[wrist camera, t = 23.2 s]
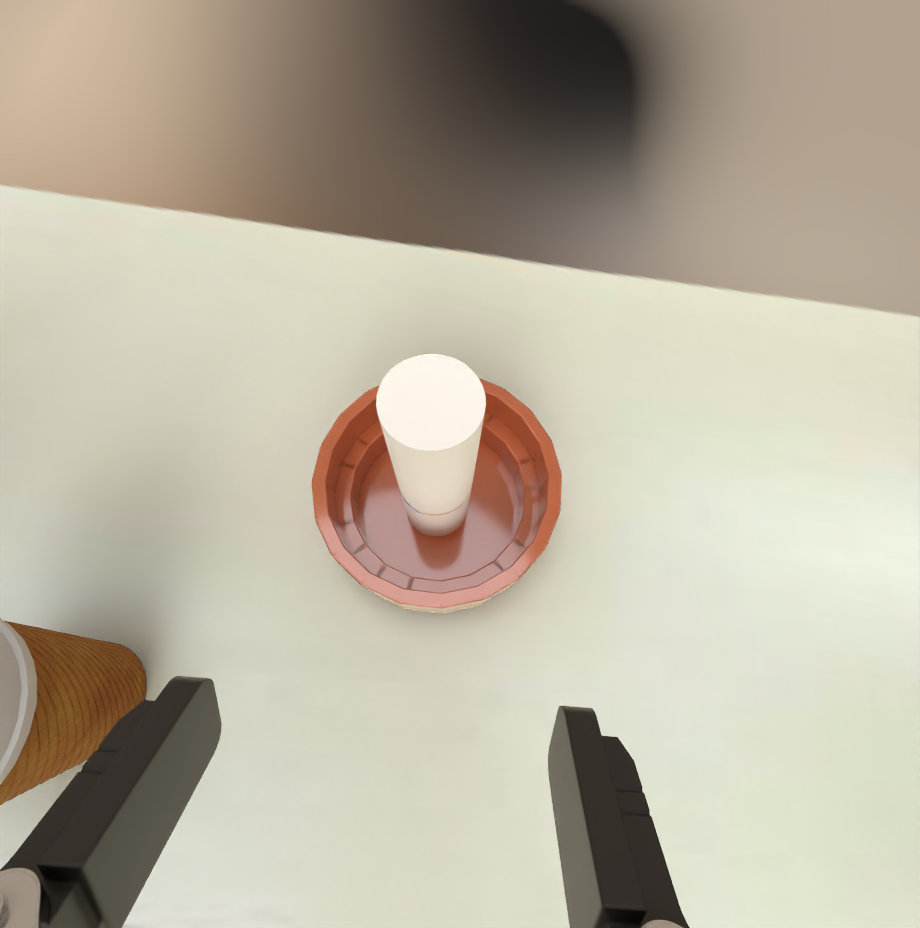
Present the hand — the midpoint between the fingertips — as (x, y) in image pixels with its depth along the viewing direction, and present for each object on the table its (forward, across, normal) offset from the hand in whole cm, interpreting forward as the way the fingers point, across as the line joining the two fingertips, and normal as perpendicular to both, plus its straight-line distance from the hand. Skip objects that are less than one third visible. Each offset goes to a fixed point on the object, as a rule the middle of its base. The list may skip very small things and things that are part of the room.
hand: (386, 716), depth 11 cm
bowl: (+21, 0, -6) cm, 22 cm away
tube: (+21, 0, -6) cm, 22 cm away
